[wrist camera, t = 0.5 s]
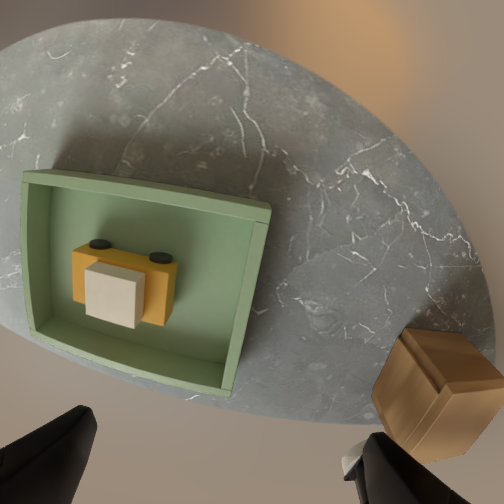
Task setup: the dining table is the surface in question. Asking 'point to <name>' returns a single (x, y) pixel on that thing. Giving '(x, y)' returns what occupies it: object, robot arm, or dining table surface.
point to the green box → (144, 243)
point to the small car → (123, 284)
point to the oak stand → (436, 394)
